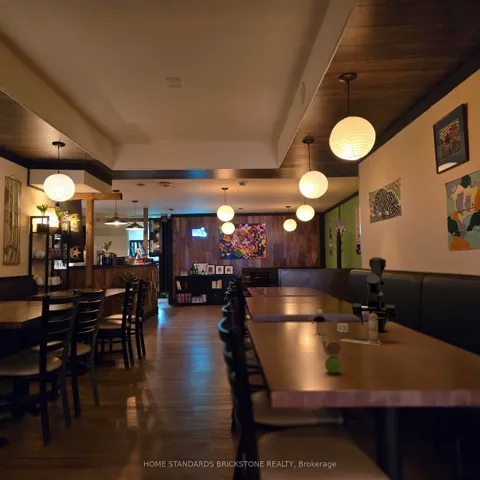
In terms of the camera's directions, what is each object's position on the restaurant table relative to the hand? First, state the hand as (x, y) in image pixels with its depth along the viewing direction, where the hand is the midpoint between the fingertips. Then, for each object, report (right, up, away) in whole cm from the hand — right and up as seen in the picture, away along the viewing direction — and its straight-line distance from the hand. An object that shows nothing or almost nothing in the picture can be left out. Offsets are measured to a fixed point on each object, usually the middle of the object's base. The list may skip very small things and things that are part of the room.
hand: (373, 325), depth 169 cm
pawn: (0, -8, -1) cm, 8 cm away
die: (-5, -10, +31) cm, 33 cm away
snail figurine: (-29, -6, -44) cm, 53 cm away
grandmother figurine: (-19, -10, +22) cm, 31 cm away
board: (-5, -9, +3) cm, 10 cm away
